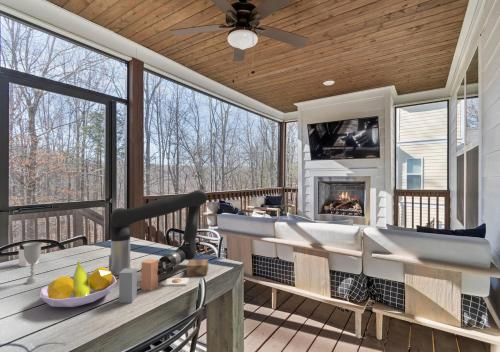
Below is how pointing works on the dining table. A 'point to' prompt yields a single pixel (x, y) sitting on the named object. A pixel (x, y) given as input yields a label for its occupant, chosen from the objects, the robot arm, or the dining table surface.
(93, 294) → the fruit bowl
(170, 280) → the card
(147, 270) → the terracotta block
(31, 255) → the chalice
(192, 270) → the walnut plinth
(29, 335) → the dining table surface
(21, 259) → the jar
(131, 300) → the grey block
